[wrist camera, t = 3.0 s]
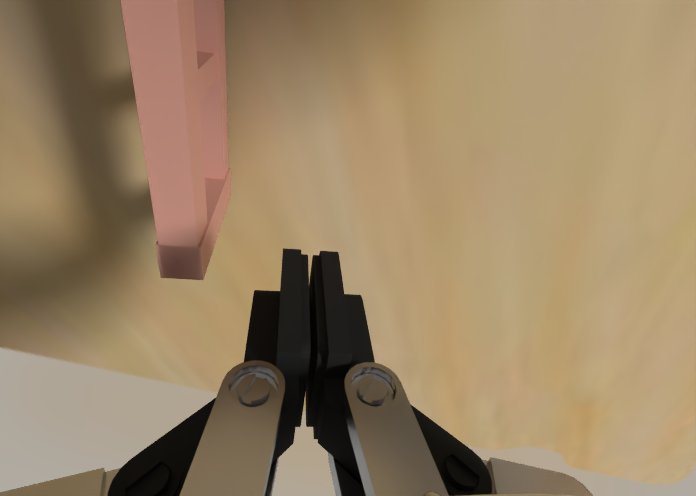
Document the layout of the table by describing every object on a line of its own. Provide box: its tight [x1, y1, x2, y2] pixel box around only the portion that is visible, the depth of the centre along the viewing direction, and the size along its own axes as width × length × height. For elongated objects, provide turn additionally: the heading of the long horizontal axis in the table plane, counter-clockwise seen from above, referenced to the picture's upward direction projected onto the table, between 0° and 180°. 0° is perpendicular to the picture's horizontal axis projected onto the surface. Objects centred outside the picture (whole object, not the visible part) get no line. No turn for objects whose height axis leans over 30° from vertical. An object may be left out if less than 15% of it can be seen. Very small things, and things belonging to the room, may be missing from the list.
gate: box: [121, 0, 231, 280], centre depth 15 cm, size 14×2×7 cm, turn 172°
